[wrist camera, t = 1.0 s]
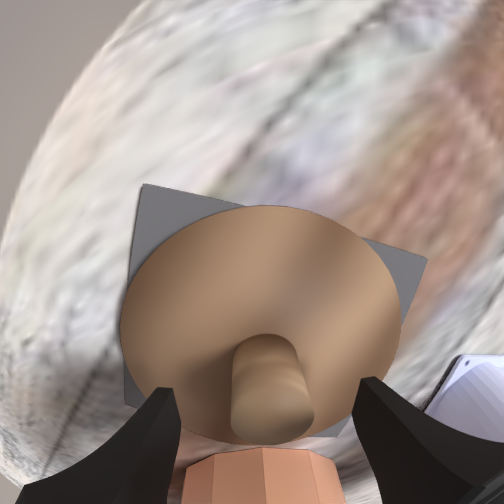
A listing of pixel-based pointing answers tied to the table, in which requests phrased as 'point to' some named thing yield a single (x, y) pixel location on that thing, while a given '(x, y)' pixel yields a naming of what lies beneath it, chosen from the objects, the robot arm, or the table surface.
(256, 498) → the bowl
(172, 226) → the mat
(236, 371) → the lid
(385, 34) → the table surface
